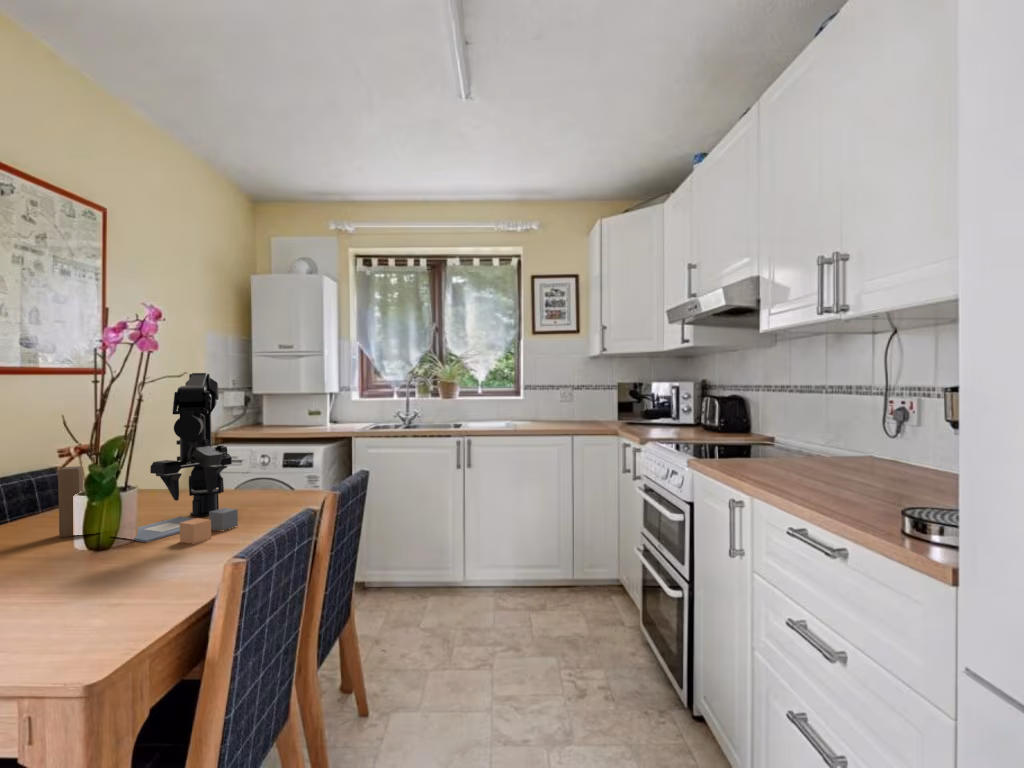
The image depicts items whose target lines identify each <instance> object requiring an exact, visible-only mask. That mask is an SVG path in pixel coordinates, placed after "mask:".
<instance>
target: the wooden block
mask: <svg viewBox="0 0 1024 768" xmlns="http://www.w3.org/2000/svg"><path fill="white" fill-rule="evenodd" d="M57 485H58V487H57V488H58V489H57V490H58V491H57V492H58V528H59V529H58V533H59V534H58V535H59V538H60V539H61V538H71V537H74V536H73V496H74V495H75V494H77V493H79V492H80V491H83V492H84V466H81V465H79V466H64V467H61V468H59V469H58V470H57Z"/></svg>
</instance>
